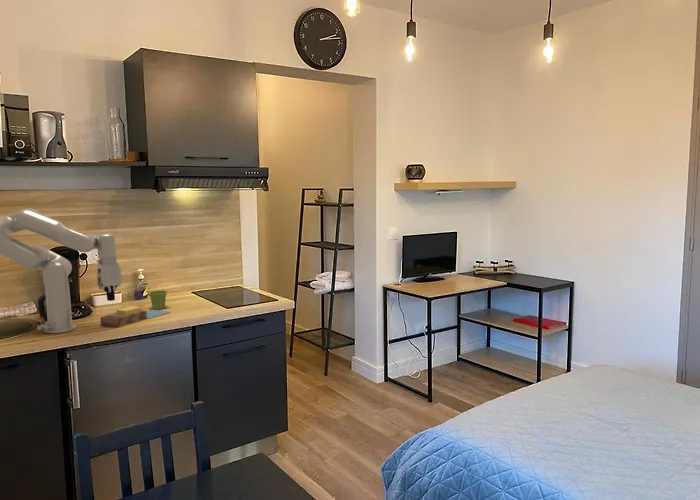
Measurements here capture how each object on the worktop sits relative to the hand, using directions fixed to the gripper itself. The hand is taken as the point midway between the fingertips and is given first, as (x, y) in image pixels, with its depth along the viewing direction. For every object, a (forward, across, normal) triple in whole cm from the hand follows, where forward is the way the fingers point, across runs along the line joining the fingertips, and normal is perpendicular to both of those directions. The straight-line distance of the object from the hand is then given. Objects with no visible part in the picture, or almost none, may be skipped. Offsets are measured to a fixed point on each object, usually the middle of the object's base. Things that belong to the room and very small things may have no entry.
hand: (111, 300), depth 242 cm
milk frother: (+12, -5, +29) cm, 32 cm away
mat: (+12, +23, +1) cm, 26 cm away
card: (+8, +10, +1) cm, 13 cm away
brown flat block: (+12, +7, +1) cm, 14 cm away
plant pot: (+13, +35, +8) cm, 38 cm away
